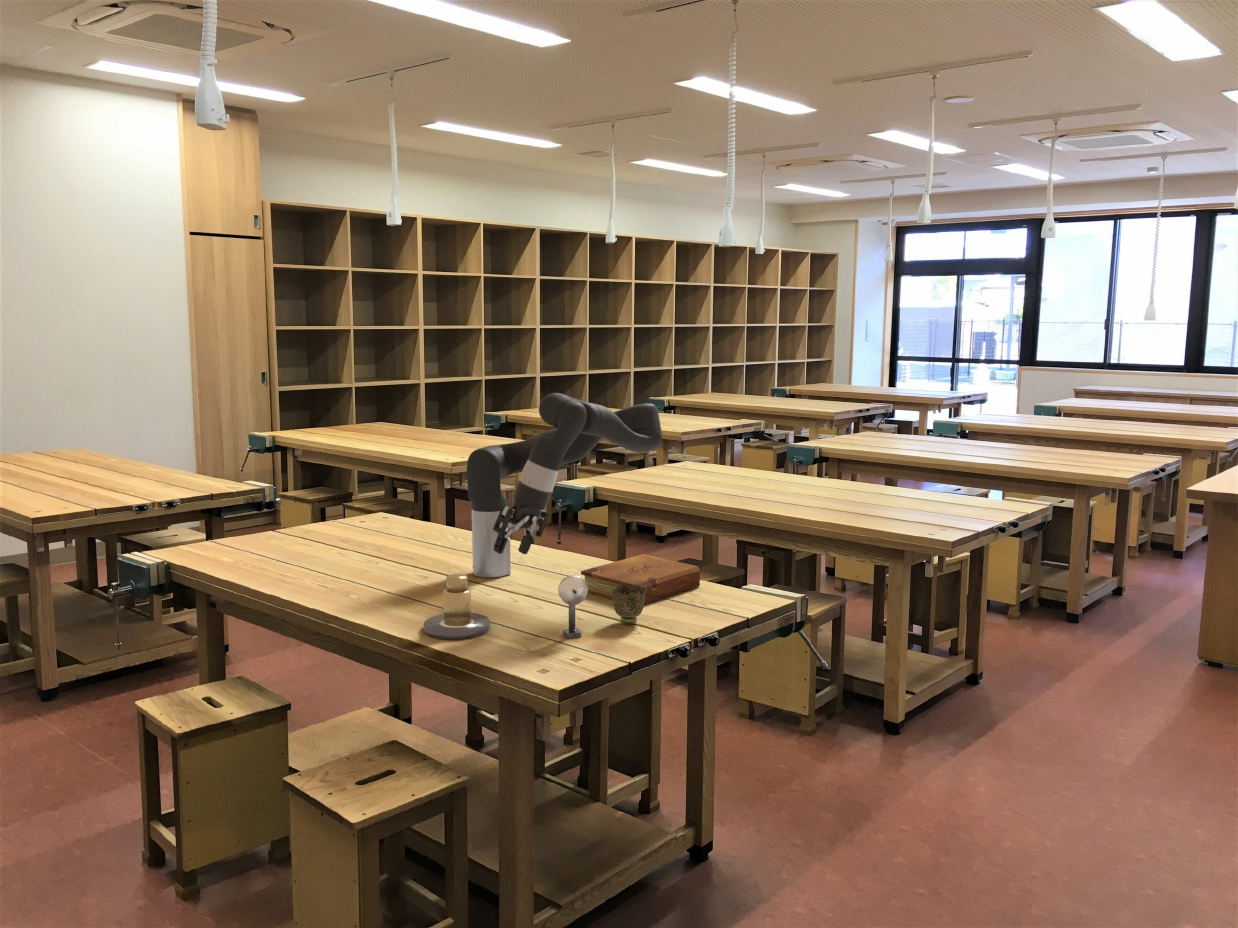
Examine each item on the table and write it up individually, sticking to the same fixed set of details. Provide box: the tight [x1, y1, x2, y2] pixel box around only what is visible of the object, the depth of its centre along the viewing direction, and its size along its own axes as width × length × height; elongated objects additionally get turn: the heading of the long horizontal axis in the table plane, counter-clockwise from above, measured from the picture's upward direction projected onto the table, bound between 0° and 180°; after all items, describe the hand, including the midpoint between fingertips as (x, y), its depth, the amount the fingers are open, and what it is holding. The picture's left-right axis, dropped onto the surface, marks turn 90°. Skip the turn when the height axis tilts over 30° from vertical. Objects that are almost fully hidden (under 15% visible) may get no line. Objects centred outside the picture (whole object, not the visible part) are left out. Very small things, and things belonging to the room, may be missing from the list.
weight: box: [442, 573, 472, 626], centre depth 202 cm, size 6×6×10 cm
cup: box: [611, 583, 646, 626], centre depth 206 cm, size 8×7×8 cm
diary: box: [580, 553, 701, 605], centre depth 233 cm, size 23×19×6 cm
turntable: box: [422, 612, 491, 641], centre depth 202 cm, size 14×14×2 cm
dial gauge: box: [557, 574, 589, 639], centre depth 197 cm, size 6×4×13 cm, turn 109°
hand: (510, 552), depth 207 cm, fingers open, 8 cm apart
